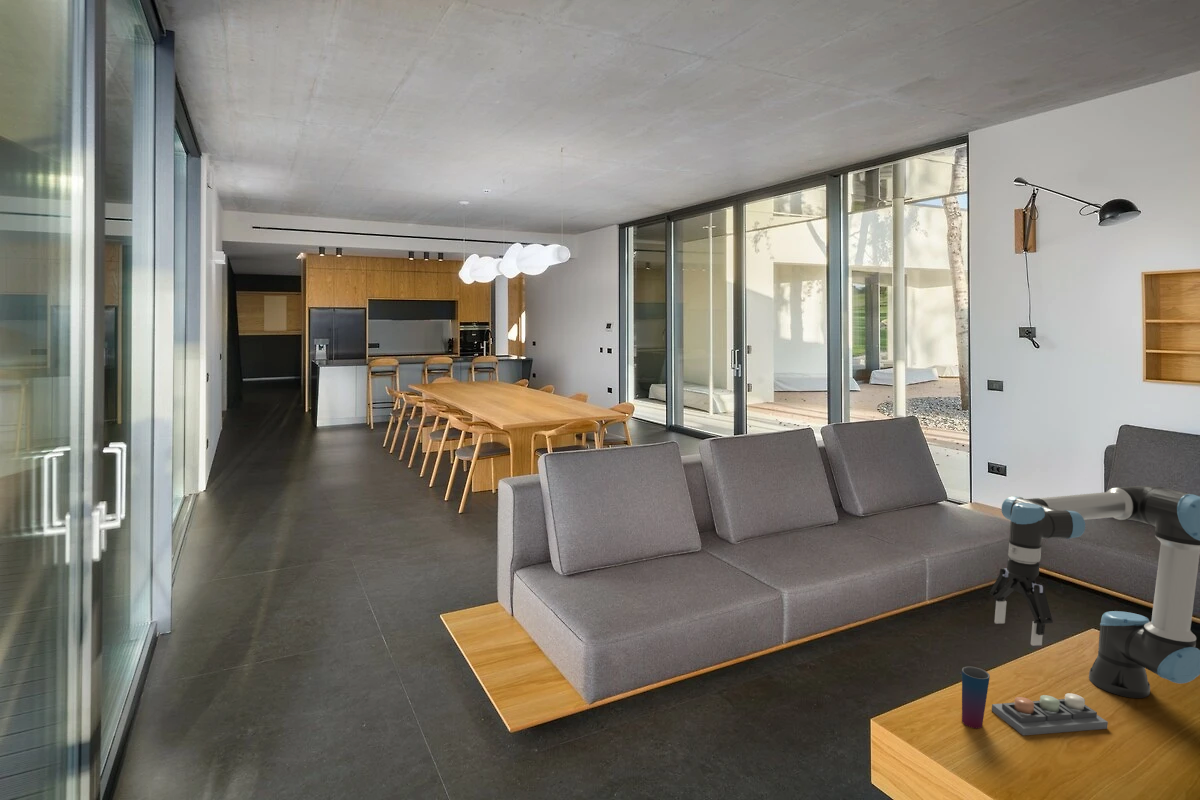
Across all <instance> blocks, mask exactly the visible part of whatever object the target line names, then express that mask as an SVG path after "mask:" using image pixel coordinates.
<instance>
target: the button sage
mask: <svg viewBox="0 0 1200 800" xmlns="http://www.w3.org/2000/svg"><path fill="white" fill-rule="evenodd" d="M1058 699H1059V698H1056V697H1054V696H1052V695H1046V694H1043V695H1040V696H1039V701H1040V707H1041V708H1043V709H1044V710H1047V711H1050V712H1058V711H1059V704H1060V701H1059V700H1058Z"/></svg>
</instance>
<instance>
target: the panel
mask: <svg viewBox="0 0 1200 800" xmlns="http://www.w3.org/2000/svg"><path fill="white" fill-rule="evenodd" d="M1057 699H1058V700H1059V701H1060V704H1059V711H1058V712H1050V711H1047V710H1044V709H1043V708H1041V707H1040V700H1033V702H1034V711H1033V713H1032V714H1024V713H1021V712H1019V711H1017V710H1016V709H1015V708H1014V704H1015V702H1005V703H993V704H991V712H993V713H994V714H995V715H996V716H998V718H1000V719H1001V720H1002V721H1004V722H1005V723H1007V724H1008V725H1009V726H1010V727H1012V728H1013V729H1014V730H1016V731H1017V732H1018V733H1020V735H1022V736H1030V735H1031V736H1032V735H1043V734H1044V735H1046V734H1058V733H1069V732H1071V733H1073V732H1083V731H1095V730H1105V729H1106V730H1107V729H1108V726H1109V725H1108V723H1109V721H1107V720H1106V719H1105V718H1102V717H1101V716H1100V715H1098V712H1097V711H1096V710H1094V709H1092V708H1091V707H1089V706H1088V705H1087V704H1085V705H1084V709H1083V710H1075V709H1072V708H1069V707H1068V706H1066V705H1065V698H1060V699H1059V698H1057Z"/></svg>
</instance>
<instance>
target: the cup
mask: <svg viewBox="0 0 1200 800" xmlns="http://www.w3.org/2000/svg"><path fill="white" fill-rule="evenodd" d="M990 677H991V675H990V673H988V672H987V671H986V670H984V669H982V668H979V667H975V666H964V667H962V669H961V722H962V724H964V725H965V726H966V727H969V728H973V729H980V728H982V727H983V723H984V717H985V709H986V704H987V697H988V690H989V684H990V679H991V678H990Z"/></svg>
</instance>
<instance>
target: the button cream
mask: <svg viewBox="0 0 1200 800" xmlns="http://www.w3.org/2000/svg"><path fill="white" fill-rule="evenodd" d="M1064 699H1065V705H1066V706H1068V707H1069V708H1072V709H1075V710H1083V709H1084V705H1086V704H1085V701H1086V700H1085V698H1084V697H1082V696H1081V695H1078V694H1076V693H1071V692H1070V693H1069V692H1068V693H1065V694H1064Z"/></svg>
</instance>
